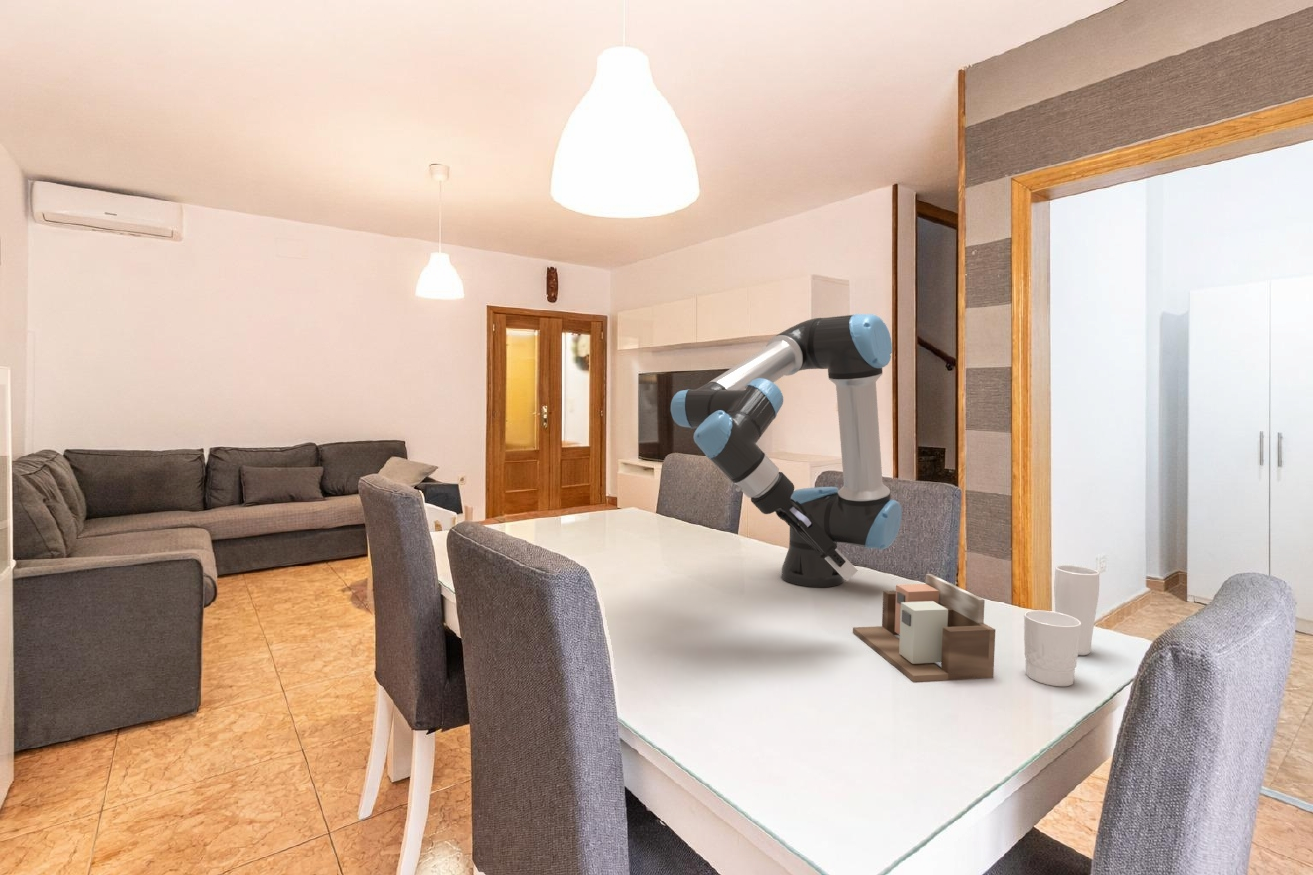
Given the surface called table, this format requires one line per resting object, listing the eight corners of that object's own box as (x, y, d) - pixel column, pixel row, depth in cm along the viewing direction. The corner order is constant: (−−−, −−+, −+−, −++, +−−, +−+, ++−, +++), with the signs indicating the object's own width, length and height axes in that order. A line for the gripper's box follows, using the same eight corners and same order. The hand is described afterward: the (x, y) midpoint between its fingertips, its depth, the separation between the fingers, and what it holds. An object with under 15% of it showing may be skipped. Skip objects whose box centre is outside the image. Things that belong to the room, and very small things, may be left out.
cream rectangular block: (897, 653, 112) (899, 602, 111) (931, 651, 113) (933, 601, 112) (911, 663, 107) (912, 610, 107) (946, 661, 108) (948, 609, 108)
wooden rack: (852, 632, 125) (854, 571, 124) (920, 629, 127) (922, 569, 126) (913, 681, 103) (916, 608, 103) (993, 677, 105) (996, 605, 105)
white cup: (1086, 690, 101) (1090, 628, 100) (1031, 685, 102) (1034, 624, 102) (1065, 670, 109) (1068, 612, 108) (1014, 666, 110) (1017, 608, 110)
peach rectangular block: (893, 631, 122) (894, 584, 122) (924, 630, 123) (925, 583, 123) (905, 640, 118) (906, 591, 117) (937, 638, 119) (939, 590, 118)
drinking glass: (1056, 640, 122) (1060, 562, 121) (1099, 651, 117) (1103, 569, 116) (1046, 650, 117) (1050, 569, 116) (1090, 661, 112) (1094, 576, 111)
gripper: (739, 494, 120) (822, 579, 124) (761, 506, 107) (853, 600, 111) (767, 465, 121) (849, 551, 124) (792, 474, 108) (882, 569, 111)
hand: (850, 574), depth 118 cm, fingers closed
